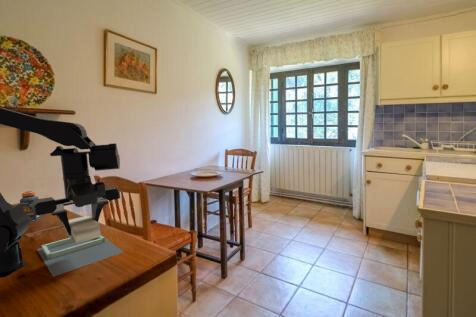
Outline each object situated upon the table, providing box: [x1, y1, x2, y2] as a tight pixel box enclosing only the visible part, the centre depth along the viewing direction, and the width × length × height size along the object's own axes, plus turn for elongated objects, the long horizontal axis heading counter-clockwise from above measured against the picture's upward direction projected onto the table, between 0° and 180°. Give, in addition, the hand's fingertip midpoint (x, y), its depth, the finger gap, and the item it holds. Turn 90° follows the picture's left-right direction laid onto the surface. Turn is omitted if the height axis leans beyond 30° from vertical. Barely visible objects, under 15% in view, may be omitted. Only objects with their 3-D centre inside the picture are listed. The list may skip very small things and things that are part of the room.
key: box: [24, 225, 64, 238], centre depth 94 cm, size 6×1×15 cm
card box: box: [65, 215, 102, 244], centre depth 70 cm, size 10×6×4 cm, turn 44°
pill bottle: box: [19, 190, 42, 223], centre depth 106 cm, size 6×6×11 cm
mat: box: [36, 238, 124, 278], centre depth 74 cm, size 22×16×1 cm
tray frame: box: [41, 234, 106, 259], centre depth 78 cm, size 9×14×1 cm, turn 134°
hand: (82, 231), depth 70 cm, fingers closed on card box, 5 cm apart
